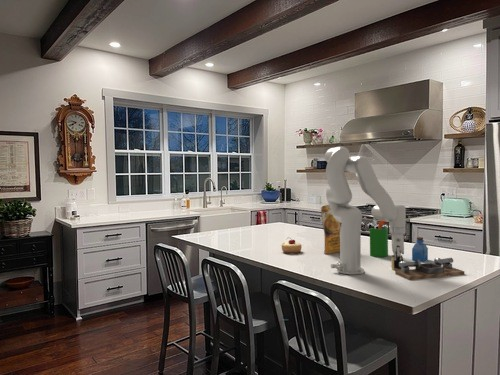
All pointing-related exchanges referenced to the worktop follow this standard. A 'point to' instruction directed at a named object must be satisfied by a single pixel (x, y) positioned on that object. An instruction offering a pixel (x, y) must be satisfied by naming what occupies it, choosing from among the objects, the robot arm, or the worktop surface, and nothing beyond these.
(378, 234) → the green bottle
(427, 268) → the stand
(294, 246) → the pastry
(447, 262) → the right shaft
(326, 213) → the pancake mix bag
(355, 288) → the worktop surface
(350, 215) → the robot arm
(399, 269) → the coupling block
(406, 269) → the left shaft
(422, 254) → the perfume bottle
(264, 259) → the worktop surface
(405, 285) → the worktop surface
